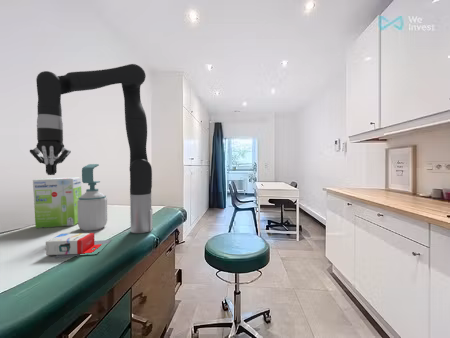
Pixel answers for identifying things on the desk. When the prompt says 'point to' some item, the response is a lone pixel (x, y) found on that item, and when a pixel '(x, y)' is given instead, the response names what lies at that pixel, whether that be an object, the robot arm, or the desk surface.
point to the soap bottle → (91, 203)
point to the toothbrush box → (56, 201)
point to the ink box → (71, 244)
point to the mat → (79, 254)
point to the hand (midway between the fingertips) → (51, 174)
